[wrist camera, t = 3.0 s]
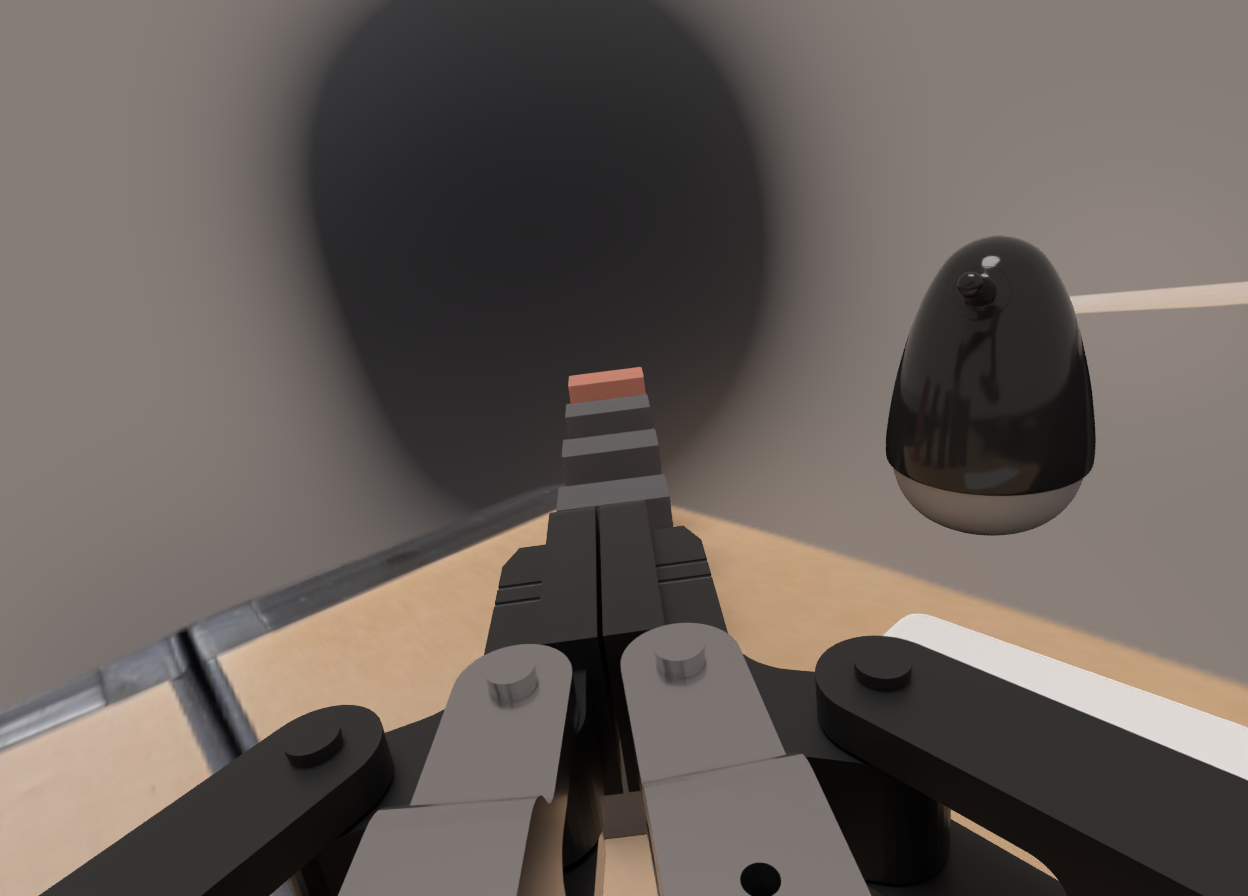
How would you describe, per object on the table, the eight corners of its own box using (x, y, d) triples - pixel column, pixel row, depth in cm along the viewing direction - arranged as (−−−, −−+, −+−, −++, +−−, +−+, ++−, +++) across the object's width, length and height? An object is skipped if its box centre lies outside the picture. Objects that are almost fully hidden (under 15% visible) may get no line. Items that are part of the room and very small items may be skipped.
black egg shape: (858, 539, 43) (854, 257, 37) (915, 466, 51) (919, 224, 45) (1071, 579, 37) (1103, 253, 32) (1099, 490, 45) (1129, 215, 39)
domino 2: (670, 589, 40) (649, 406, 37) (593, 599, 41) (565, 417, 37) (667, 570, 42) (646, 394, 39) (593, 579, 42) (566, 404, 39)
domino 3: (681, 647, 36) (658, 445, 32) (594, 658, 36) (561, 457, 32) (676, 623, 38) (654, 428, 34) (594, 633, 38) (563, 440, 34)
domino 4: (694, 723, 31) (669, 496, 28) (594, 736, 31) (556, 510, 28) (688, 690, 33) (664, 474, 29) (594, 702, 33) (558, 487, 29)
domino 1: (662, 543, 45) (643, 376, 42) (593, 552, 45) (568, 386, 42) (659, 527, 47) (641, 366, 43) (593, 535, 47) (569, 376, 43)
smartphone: (912, 608, 36) (1347, 761, 25) (912, 622, 36) (1343, 779, 26) (820, 690, 32) (1298, 917, 21) (821, 705, 32) (1293, 937, 21)
